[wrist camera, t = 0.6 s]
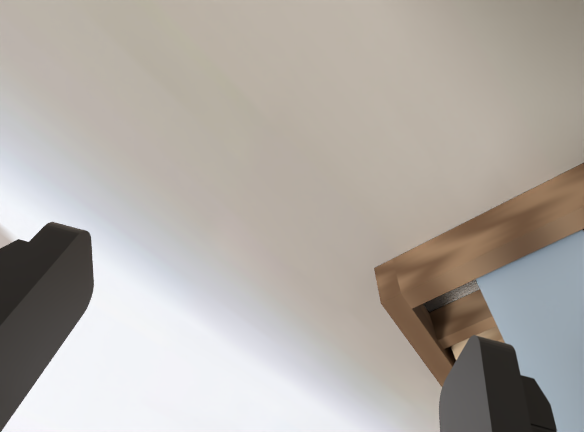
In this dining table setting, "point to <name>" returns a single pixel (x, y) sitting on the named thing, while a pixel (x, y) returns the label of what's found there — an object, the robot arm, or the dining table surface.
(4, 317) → the robot arm
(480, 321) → the rack
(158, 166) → the dining table surface
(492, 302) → the pale blue tall prism
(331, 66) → the dining table surface
